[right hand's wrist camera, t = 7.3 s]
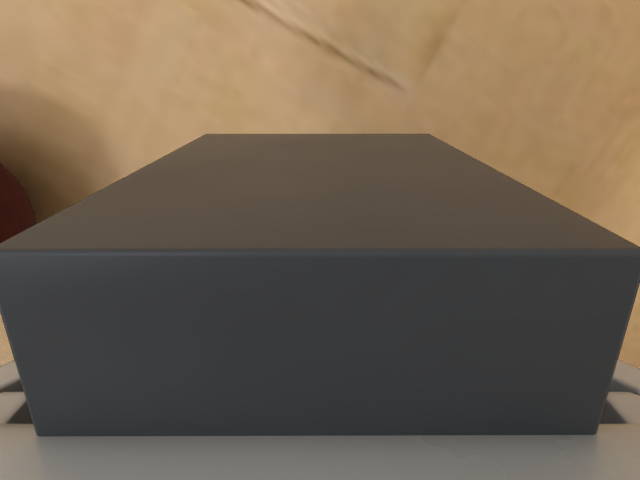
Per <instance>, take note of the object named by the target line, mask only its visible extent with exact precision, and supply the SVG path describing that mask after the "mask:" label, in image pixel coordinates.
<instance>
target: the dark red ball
mask: <svg viewBox="0 0 640 480" xmlns="http://www.w3.org/2000/svg"><path fill="white" fill-rule="evenodd" d="M34 225H36V223H35V216H34V210H33V208H32V206H31V203H30V201H29V199H28V197H27V195H26V193H25V191H24V189H23V188H22V186H21V185H20V183H19V182H18V181H17V179H16V178H15V177H14V176H13V175H12V174H11V173H10V172H9V171H8V170H7V169H6V168H5V167H4V166H3V165H2V164H1V163H0V243H2V242H4V241H6V240H8V239H10V238H11V237H13V236H15V235H17V234H19V233H21V232H23V231H25V230H26V229H28V228H30V227H32V226H34Z"/></svg>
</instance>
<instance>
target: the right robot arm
mask: <svg viewBox="0 0 640 480" xmlns="http://www.w3.org/2000/svg"><path fill="white" fill-rule="evenodd" d="M0 480H640V369H639V368H637V367H634V366H632V365H630V364H627V363H625V362H623V361H621V360H618V361H617V364H616V368H615V371H614V375H613V378H612V382H611V385H610V389H609V392H608V396H607V399H606V402H605V406H604V409H603V413H602V416H601V420H600V423H599V427H598V430H597V434H595V435H404V436H37V435H36V432H35V428H34V425H33V422H32V418H31V415H30V411H29V408H28V404H27V401H26V398H25V394H24V391H23V387H22V384H21V381H20V377H19V374H18V370H17V367H16V363H15V360H14V361H11V362H9V363H7V364H4V365H2V366H0Z"/></svg>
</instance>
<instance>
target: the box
mask: <svg viewBox="0 0 640 480" xmlns="http://www.w3.org/2000/svg"><path fill="white" fill-rule="evenodd" d="M639 284H640V247H639V246H637V245H635V244H633V243H631V242H630V241H628V240H626V239H624V238H622V237H620V236H618V235H617V234H615V233H613V232H611V231H609V230H607V229H605V228H603V227H602V226H600V225H598V224H596V223H594V222H592V221H590V220H589V219H587V218H585V217H583V216H581V215H579V214H577V213H575V212H574V211H572V210H570V209H568V208H566V207H564V206H562V205H561V204H559V203H557V202H555V201H553V200H551V199H549V198H547V197H546V196H544V195H542V194H540V193H538V192H536V191H534V190H533V189H531V188H529V187H527V186H525V185H523V184H521V183H519V182H518V181H516V180H514V179H512V178H510V177H508V176H506V175H505V174H503V173H501V172H499V171H497V170H495V169H493V168H491V167H490V166H488V165H486V164H484V163H482V162H480V161H478V160H476V159H475V158H473V157H471V156H469V155H467V154H465V153H463V152H462V151H460V150H458V149H456V148H454V147H452V146H450V145H448V144H447V143H445V142H443V141H441V140H439V139H437V138H435V137H434V136H432V135H430V134H205V135H203V136H201V137H200V138H198V139H196V140H194V141H192V142H190V143H188V144H186V145H185V146H183V147H181V148H179V149H177V150H175V151H173V152H171V153H170V154H168V155H166V156H164V157H162V158H160V159H158V160H156V161H154V162H153V163H151V164H149V165H147V166H145V167H143V168H141V169H139V170H138V171H136V172H134V173H132V174H130V175H128V176H126V177H124V178H122V179H121V180H119V181H117V182H115V183H113V184H111V185H109V186H107V187H106V188H104V189H102V190H100V191H98V192H96V193H94V194H92V195H90V196H89V197H87V198H85V199H83V200H81V201H79V202H77V203H75V204H74V205H72V206H70V207H68V208H66V209H64V210H62V211H60V212H58V213H57V214H55V215H53V216H51V217H49V218H47V219H45V220H43V221H42V222H40V223H38V224H36V225H34V226H32V227H30V228H28V229H26V230H25V231H23V232H21V233H19V234H17V235H15V236H13V237H11V238H10V239H8V240H6V241H4V242H2V243H0V312H1V316H2V319H3V323H4V326H5V329H6V333H7V336H8V340H9V343H10V346H11V350H12V353H13V357H14V360H15V363H16V367H17V370H18V374H19V377H20V381H21V384H22V387H23V391H24V394H25V398H26V401H27V404H28V408H29V411H30V415H31V418H32V422H33V425H34V428H35V432H36V435H37V436H404V435H595V434H597V430H598V427H599V423H600V420H601V416H602V413H603V409H604V406H605V402H606V399H607V396H608V392H609V389H610V385H611V382H612V378H613V375H614V371H615V368H616V364H617V361H618V357H619V354H620V350H621V347H622V343H623V340H624V336H625V333H626V329H627V326H628V322H629V319H630V315H631V312H632V308H633V305H634V301H635V298H636V294H637V291H638V287H639Z"/></svg>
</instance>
